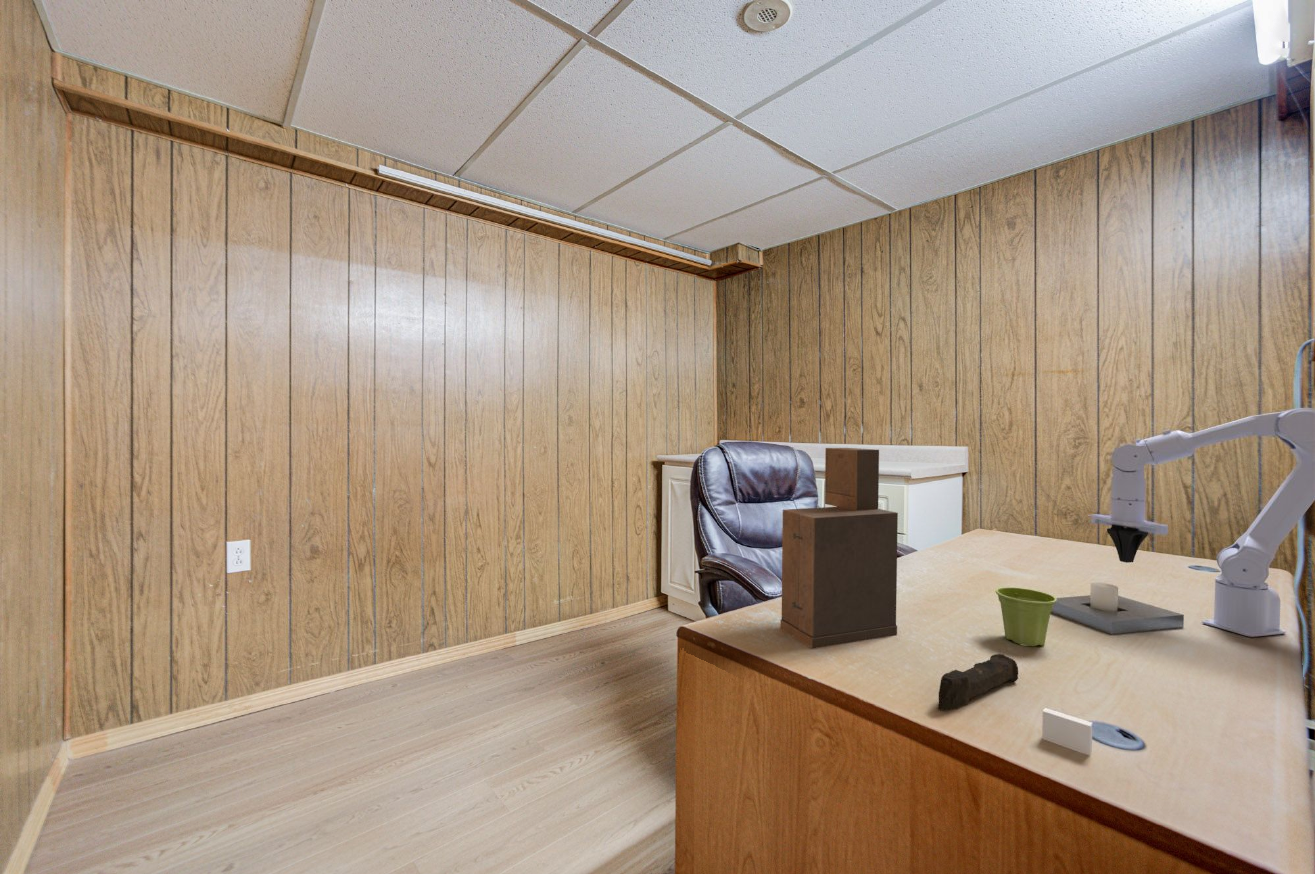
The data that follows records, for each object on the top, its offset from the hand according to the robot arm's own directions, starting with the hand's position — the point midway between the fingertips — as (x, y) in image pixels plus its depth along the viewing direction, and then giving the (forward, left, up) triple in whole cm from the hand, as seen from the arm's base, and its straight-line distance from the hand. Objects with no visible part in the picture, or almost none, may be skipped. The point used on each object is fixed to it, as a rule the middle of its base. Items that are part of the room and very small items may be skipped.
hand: (1126, 561), depth 120 cm
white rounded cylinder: (+11, +4, -10) cm, 16 cm away
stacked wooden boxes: (+68, -2, -11) cm, 69 cm away
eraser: (+61, +39, -11) cm, 73 cm away
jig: (+9, +4, -10) cm, 14 cm away
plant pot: (+37, +10, -11) cm, 40 cm away
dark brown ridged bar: (+62, +26, -11) cm, 68 cm away
